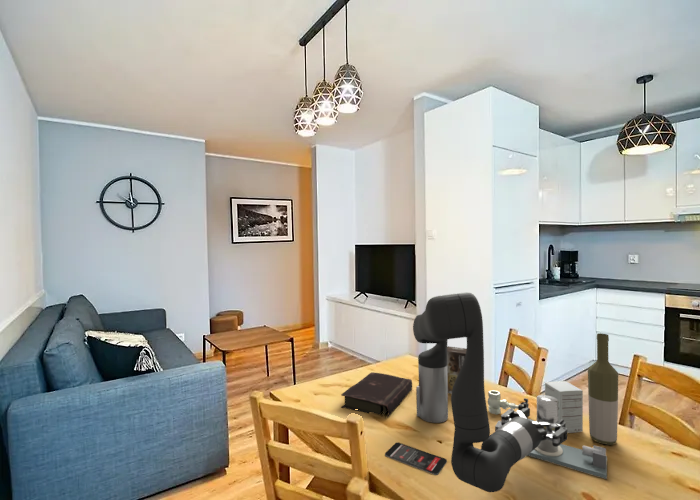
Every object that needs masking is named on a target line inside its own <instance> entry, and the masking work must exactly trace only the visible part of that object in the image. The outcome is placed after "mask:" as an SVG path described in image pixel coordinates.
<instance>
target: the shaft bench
mask: <svg viewBox="0 0 700 500" xmlns="http://www.w3.org/2000/svg"><path fill="white" fill-rule="evenodd" d="M501 426H502V425H501V420H498V421H497V422H496V424H495V426H494V432H495V431H496V430H497V429H498V428H499V427H501ZM592 446H593V447H591V446H587V445H582V449H580V448H578V447H577V448H576V447H575V446H570V445H566V444H563V443H562V444H560V445H559V446H558V451H557V452H555V453H550V452H545V451H543V450H541V449H539V448H538V447H536V448H535V449H534V450H533V451H532V452H531V453H529V454H528V455H527V457H528V456H529V457H531V458H534V459H538V460H542V461H545V462H548V463H551V464H554V465H557V466H561V467H564V468H568V469H571V470H573V471H574V470H575V471H578V472H582V473H585V474H588V475H590V476H591V475H592V476H595V477H598V478H601V479H605V480H607V479H608V456H607V448H605V447H603V446H597V445H592Z"/></svg>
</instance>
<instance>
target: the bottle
mask: <svg viewBox="0 0 700 500" xmlns="http://www.w3.org/2000/svg"><path fill="white" fill-rule="evenodd" d="M609 337H610V336H609V334H607V333H601V332H600V333H597V334H596V361H594V362H593V363H592V365H590V366H589V367H588V369H587V386H588V387H587V388H588V389H587V391H588V392H587V393H588V395H587V396H588V427H589V435H590V438H591V439H592V440H593V441H595V442H596V443H600V444H603V445H608V446H610V445H611V446H612V445H616V443H617V441H618V419H619V418H618V412H619V408H618V407H619V372H618V371H617V369H616V368H614V366H613V365H612V364H611V363H610V361H609V340H610V339H609Z"/></svg>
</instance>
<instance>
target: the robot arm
mask: <svg viewBox="0 0 700 500" xmlns="http://www.w3.org/2000/svg"><path fill="white" fill-rule="evenodd" d="M483 321H484V319H483V315H482V310H481V306H480V302H479V300H478V298H477V297H476V296H475V295H474V294H473V293H472V292H460V293H449V294H443V295H436V296H433V297H431V298H430V299H428V301H427V302H426V306H425V310H424V311H423V312H422V314H417V315H416V316H415V317H414V321H413V324H412V331H413V336H414V339H415V340H416V342H418V343H420V344H435V345H434V346H433V347H432V348H429V349H427V350H424V351H422V352H420V353H419V354H418V357H417V360H418V361H417V363H418V365H417V366H418V371H417V372H418V385H417V386H416V387H415V391H416V393H415V396H416V397H415V398H416V400H415V402H416V403H415V404H416V417H419V418H420V419H422V420H423V421H424V422H427V423H433V424H439V423H444V422H446V421H447V420H448V419H449V393H448V373H447V347H448V340H453V339H454V340H455V339H460V338H461V339H462V338H466V349H467V350H466V355H465V359H464V362H463V365H462V367H461V369H460V372H459V374H458V376H457V378H456V381H455V383H454V386H453V389H452V394H450V395H451V396H450V403H451V404H450V405H451V409H452V410H451V411H452V416H453V417H452V418H453V419H452V420H453V425H454V432H453V442H452V443H453V444H452V450H451V451H452V452H451V457H450V458H451V460H450V461H451V463H450V464H451V467H452V471H453V473H454V475H455V476H456V478H457V479H458V480H460V481H461V482H463V483H465V484H467V485H470V486H473V487H475V488H478V489H480V490H482V491H485V492H488V493H496V492H499V491H501V490H503V487H504V486H505V483H506V481H507V478H508V475H509V473H510V471H511V468H513V466H514V465H515V464H517V463H518V462H519V461H521V460H523V459H525V458H526V457H528V454H529V453H531V452H532V451H533V450H534V449H535V448H536V447H537V446H538V445H539V444H540V442H541V441H543V440H546V439H547V440H549V441H552V445H553V446H556V447H557V446H559V445H560V444H563V443H564V442H566V441H567V440H568V433H567V428H565V422H564V420H563V419H560V420H558V421H557V422H556V423H555V424H550V423H549V422H537V421H536V420H534V419H531V418H529V417H530V415H531V409H530V408H529V407H528V408H524V409H522V410H520V411H519V410H518V409H517V410H516V411H515V409H511V408H508V409H506V411H505V412H504V413H502V414H501V416H500V417H501V418H500V421H501V425H502V426H501V427H499V428H498V429H497V430H496V431H495V430H494V432H492V433H491V427H490V420H489V414H488V412H489V411H488V408H487V407H488V406H487V401H486V391H485V358H484V357H485V356H484V355H485V351H484V350H485V347H484V344H485V343H484V324H483ZM527 418H528V419H527ZM544 427H546V430H545V428H544ZM552 428H555V431H552ZM478 443H479V444H480V443H481V445H480V448H477V447H475V446H474V444H478Z"/></svg>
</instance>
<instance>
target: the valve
mask: <svg viewBox="0 0 700 500" xmlns="http://www.w3.org/2000/svg"><path fill="white" fill-rule="evenodd" d="M487 394H488V395H487V396H488V397H487V405H488V406H487V407H488V408H487V409H488V412H489V413H490V414H493V415H497V416H498V415H499V414H501V413H502V412H501V411H502V410H501V409H503V410H506V411H507V410H508V409H513V410H516V409H517V410H519V411H520V410H522V409H524V408H529V398H525V397H523V401H521V402H520V403H519V404H518V405H517V404H516V403H514V402H508V401H507V399H501V396H502V395H501V393H500V391H498V390H494V389H493V390H489V391H488V393H487ZM527 419H529V417H528V418H527Z"/></svg>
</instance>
